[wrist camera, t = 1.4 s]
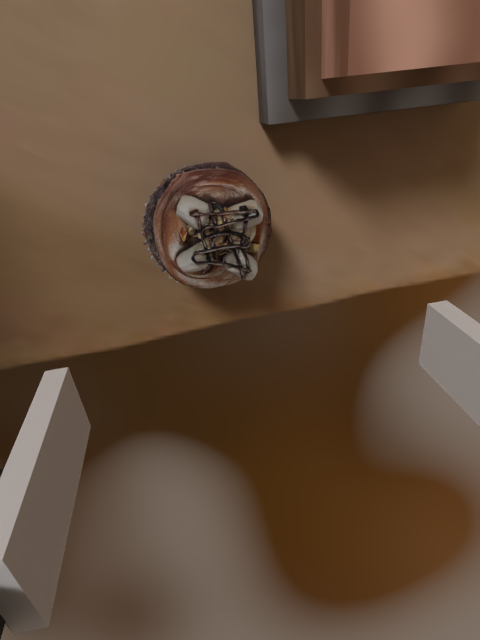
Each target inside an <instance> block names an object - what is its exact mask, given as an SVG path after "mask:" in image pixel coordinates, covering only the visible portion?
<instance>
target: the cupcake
mask: <svg viewBox="0 0 480 640" xmlns="http://www.w3.org/2000/svg"><path fill="white" fill-rule="evenodd" d="M149 199H150V201H149V202H148V203H146V204H145V206H146V212H145V213H144V216H143V219H144V221H143V224H142V227H144V228H145V229H144V230H143V232H142V234H143V236H145V237H146V240H145V242H144V243H143V244H144V245H149V249H148V251H147V252H148V253H151V254H153V255H152V256H151V259H152V260H157V262H156V264H157V266H162V272H168V273H169V274H170V275H169V278H170V279H172V278H174V279H175V280H176V281H177V283H178V282H180V283H182V284H184V285H185V286H191V287H193V288H202V289H204V288H210V289H213V288H216V287H220V286H226V285H231V284H235V283H237V282H239V281H241V280H244V279H245V280H253V279H254V278H255V276H256V274H257V272H258V264H257V263H258V261H260V258H261V257H262V255H263V254H264V252H265V250H266V247H267V245H268V243H269V240H270V236H271V213H270V209H269V206H268V204H267V201H266V199H265V196H264V194H263V193H262V192H261V190H260V189H259V188H258V187H257V186H256V184H255V183H254V182H253V181H252V180H251V179H250V178H249V177H248V176H247V175H246V174H244V173H243V172H242V171H240V170H238V169H236V168H235V167H233V166H231V165H230V164H228V163H227V162H210V163H208V162H205V163H203V164H198V163H196V164H195V165H192V166H188V165H185V167H184V168H183V169H181V170H176V172H175V173H173V174H172V173H170V174H169V177H168V178H167V179H163V181H162V182H161V186H159V187H157V188H155V192H154V194H153V195H151V196H150V197H149Z"/></svg>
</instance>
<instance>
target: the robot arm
mask: <svg viewBox="0 0 480 640" xmlns="http://www.w3.org/2000/svg"><path fill="white" fill-rule="evenodd" d="M419 364H420V365H421V366H422V368H423V369H425V371H426V372H427V373H428V374H429V375H430V376H431V377H432V378H433V379H434V380H435V381H436V382H437V383H438V384H439V385H440V386H441V387H442V388H443V389H444V390H445V391H446V392H447V393H448V394H449V395H450V396H451V397H452V398H453V400H454V401H455V402H456V403H458V405H459V406H460V407H461V408H462V409H463V410H464V411H465V412H466V413H467V414H468V415H469V416H470V417H471V418H472V419H473V420H474V421H475V422H476V423H477V424H478V425H479V426H480V324H479V323H478V322H476V321H475V320H473V319H472V318H471V317H469V316H468V315H466V314H465V313H464V312H462V311H461V310H459V309H458V308H457V307H455V306H454V305H452V304H451V303H449V302H448V301H441V302H435V303H429V304H428V305H427V312H426V318H425V325H424V332H423V339H422V345H421V352H420V358H419ZM90 427H91V426H90V423H89V420H88V418H87V415H86V413H85V410H84V407H83V405H82V402H81V400H80V397H79V394H78V392H77V389H76V387H75V384H74V381H73V379H72V376H71V374H70V371H69V368H68V367H67V368H61V369H55V370H50V371H45V372H44V375H43V377H42V380H41V382H40V384H39V387H38V389H37V391H36V394H35V396H34V399H33V401H32V404H31V406H30V408H29V411H28V413H27V415H26V418H25V420H24V422H23V425H22V427H21V430H20V432H19V434H18V437H17V439H16V441H15V444H14V446H13V449H12V451H11V453H10V456H9V458H8V460H7V463H6V465H5V468H4V469H1V470H0V639H1V635H2V632H3V628H4V624H6V625H7V627H8V628H9V629H10V630H11V631H12V633H13V634H14V635H18V634H22V633H26V632H30V631H35V630H39V629H43V628H47V627H49V622H50V618H51V613H52V608H53V603H54V599H55V593H56V589H57V584H58V580H59V575H60V570H61V565H62V561H63V556H64V551H65V546H66V542H67V537H68V532H69V528H70V523H71V518H72V513H73V509H74V504H75V499H76V494H77V489H78V485H79V480H80V475H81V471H82V466H83V461H84V456H85V452H86V447H87V442H88V437H89V433H90Z"/></svg>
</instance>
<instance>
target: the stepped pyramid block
mask: <svg viewBox="0 0 480 640" xmlns="http://www.w3.org/2000/svg"><path fill="white" fill-rule="evenodd" d="M252 4H253V21H254V37H255V53H256V69H257V85H258V102H259V118H260V123H264V124H267V125H271V124H280V123H288V122H297V121H305V120H314V119H322V118H331V117H339V116H348V115H356V114H365V113H373V112H382V111H390V110H399V109H407V108H415V107H424V106H432V105H441V104H449V103H458V102H466V101H475V100H480V0H252Z"/></svg>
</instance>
